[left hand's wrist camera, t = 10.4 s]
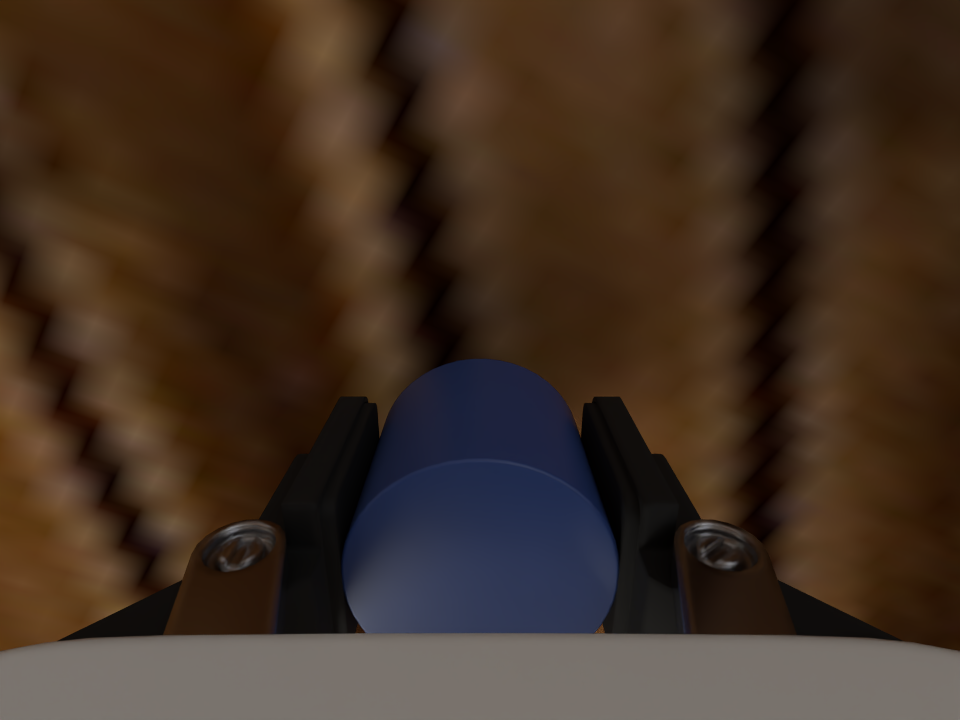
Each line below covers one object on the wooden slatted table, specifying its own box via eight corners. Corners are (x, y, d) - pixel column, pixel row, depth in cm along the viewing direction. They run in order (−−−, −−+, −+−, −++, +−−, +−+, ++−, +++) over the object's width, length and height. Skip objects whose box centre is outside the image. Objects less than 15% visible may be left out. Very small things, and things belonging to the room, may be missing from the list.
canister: (589, 362, 12) (641, 466, 8) (567, 533, 13) (600, 687, 10) (380, 352, 12) (333, 452, 8) (383, 525, 13) (344, 677, 10)
